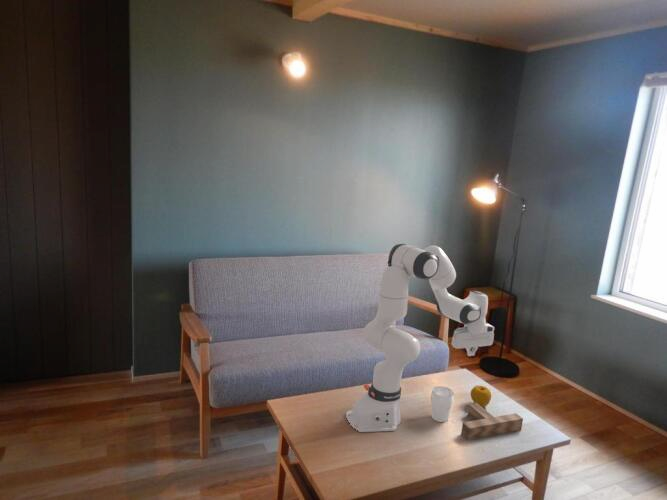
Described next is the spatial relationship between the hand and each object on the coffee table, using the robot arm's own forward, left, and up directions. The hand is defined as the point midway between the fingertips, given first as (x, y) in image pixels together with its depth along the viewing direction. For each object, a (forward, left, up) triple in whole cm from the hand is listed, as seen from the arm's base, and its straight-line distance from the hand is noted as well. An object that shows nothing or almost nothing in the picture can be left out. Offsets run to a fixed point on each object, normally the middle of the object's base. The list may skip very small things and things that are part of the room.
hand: (470, 355), depth 206 cm
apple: (0, -10, -19) cm, 22 cm away
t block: (-8, -23, -19) cm, 31 cm away
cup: (-23, -14, -19) cm, 33 cm away
